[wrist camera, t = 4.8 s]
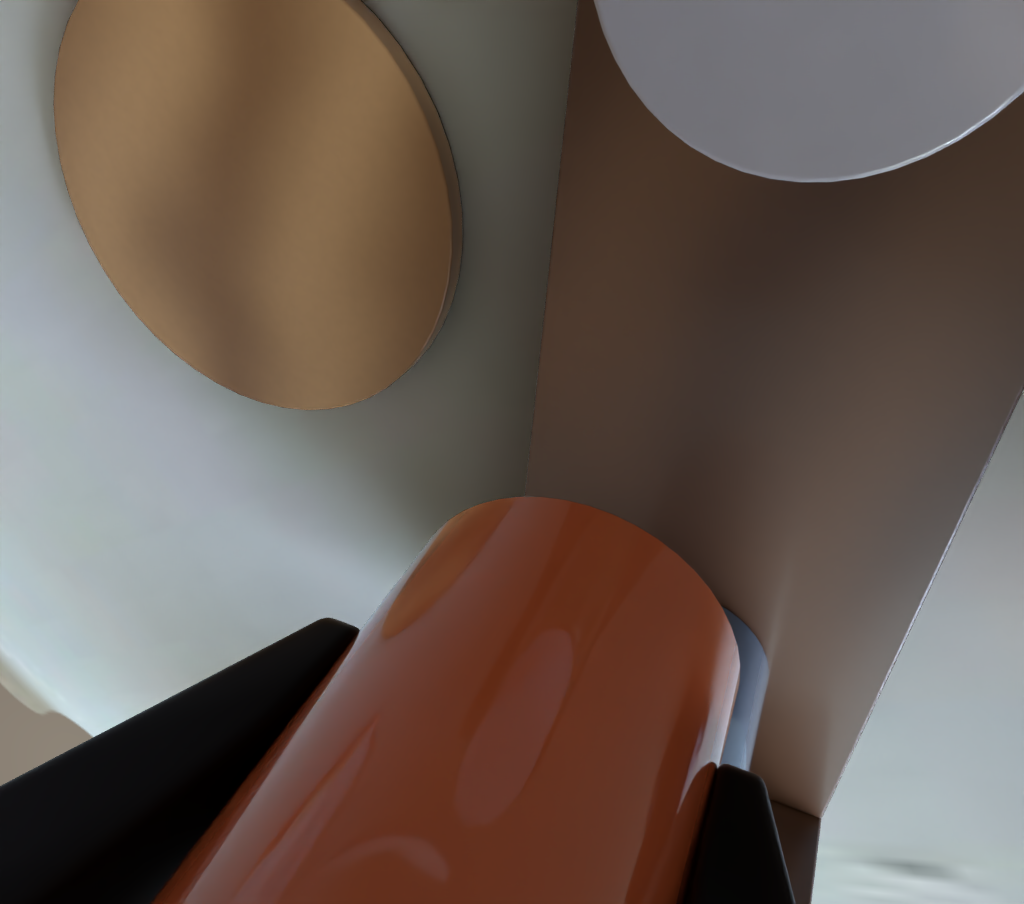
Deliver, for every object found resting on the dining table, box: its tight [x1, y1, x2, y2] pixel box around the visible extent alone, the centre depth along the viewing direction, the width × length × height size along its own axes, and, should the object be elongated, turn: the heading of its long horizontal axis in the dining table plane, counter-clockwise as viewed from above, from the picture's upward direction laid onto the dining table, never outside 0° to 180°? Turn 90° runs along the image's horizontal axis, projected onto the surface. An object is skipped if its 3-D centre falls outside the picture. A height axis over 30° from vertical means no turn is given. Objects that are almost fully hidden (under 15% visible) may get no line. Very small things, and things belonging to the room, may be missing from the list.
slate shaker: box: [721, 606, 769, 772], centre depth 16 cm, size 4×4×7 cm
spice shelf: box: [525, 0, 1024, 904], centre depth 15 cm, size 8×23×6 cm, turn 175°
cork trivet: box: [54, 0, 463, 410], centre depth 21 cm, size 11×11×1 cm
